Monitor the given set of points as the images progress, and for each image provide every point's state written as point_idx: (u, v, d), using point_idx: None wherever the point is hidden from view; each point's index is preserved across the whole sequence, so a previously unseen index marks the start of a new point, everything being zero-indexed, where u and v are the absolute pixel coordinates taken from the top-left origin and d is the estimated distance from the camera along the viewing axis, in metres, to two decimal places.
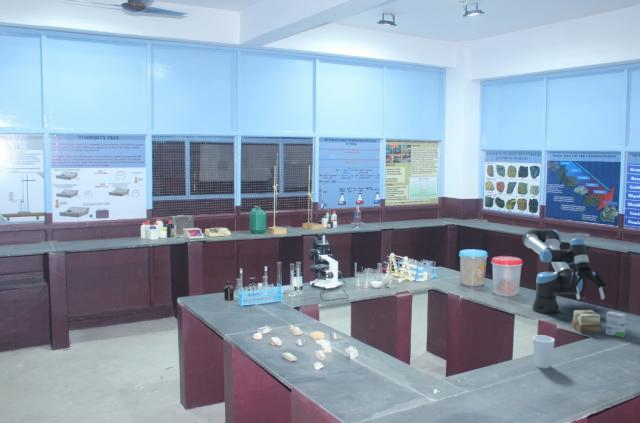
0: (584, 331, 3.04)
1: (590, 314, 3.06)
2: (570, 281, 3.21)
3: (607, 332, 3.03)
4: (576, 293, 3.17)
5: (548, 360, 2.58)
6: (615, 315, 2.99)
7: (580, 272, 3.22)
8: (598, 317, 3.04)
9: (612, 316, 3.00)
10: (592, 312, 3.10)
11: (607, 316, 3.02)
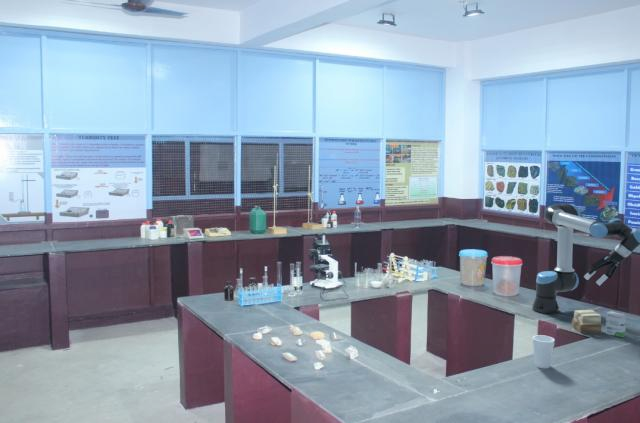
0: (584, 331, 3.04)
1: (591, 314, 3.05)
2: (596, 262, 3.04)
3: (607, 332, 3.03)
4: None
5: (548, 360, 2.58)
6: (615, 315, 2.99)
7: (611, 261, 3.04)
8: (599, 317, 3.04)
9: (612, 316, 3.00)
10: (593, 312, 3.10)
11: (607, 316, 3.02)
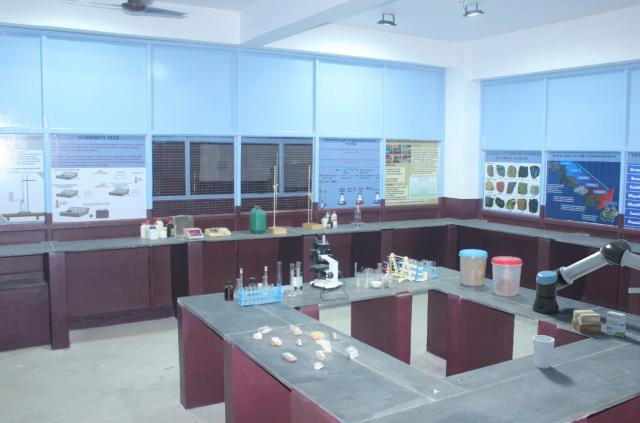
0: (584, 331, 3.04)
1: (590, 314, 3.06)
2: None
3: (607, 332, 3.03)
4: None
5: (548, 360, 2.58)
6: (615, 315, 2.99)
7: None
8: (598, 317, 3.04)
9: (612, 316, 3.00)
10: (592, 312, 3.10)
11: (607, 316, 3.02)
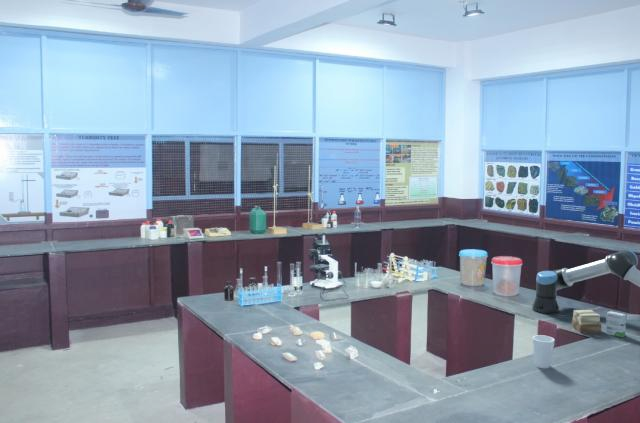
0: (584, 331, 3.04)
1: (590, 314, 3.05)
2: None
3: (607, 332, 3.03)
4: None
5: (548, 360, 2.58)
6: (615, 315, 2.99)
7: None
8: (598, 317, 3.04)
9: (612, 316, 3.00)
10: (592, 312, 3.10)
11: (607, 316, 3.02)
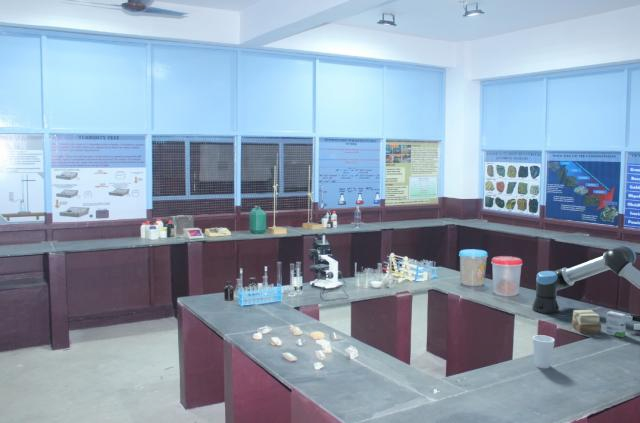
0: (584, 331, 3.04)
1: (590, 314, 3.05)
2: None
3: (607, 332, 3.03)
4: None
5: (548, 360, 2.58)
6: (615, 315, 2.99)
7: None
8: (597, 317, 3.04)
9: (612, 316, 3.00)
10: (592, 312, 3.10)
11: (607, 316, 3.02)
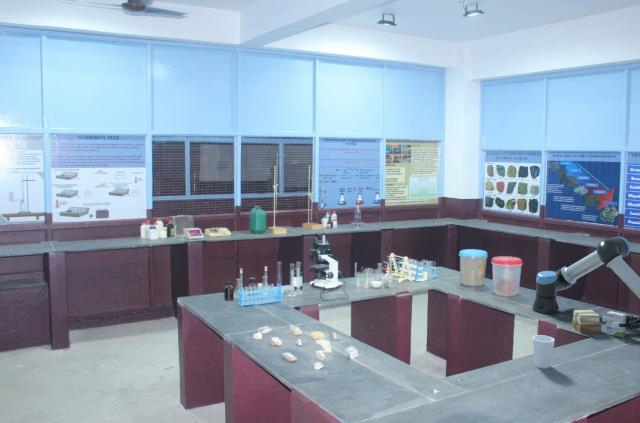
0: (584, 331, 3.04)
1: (590, 314, 3.05)
2: (636, 324, 2.94)
3: (607, 332, 3.03)
4: (619, 324, 2.96)
5: (548, 360, 2.58)
6: (615, 315, 2.99)
7: None
8: (597, 317, 3.04)
9: (612, 316, 3.00)
10: (592, 312, 3.09)
11: (607, 316, 3.02)
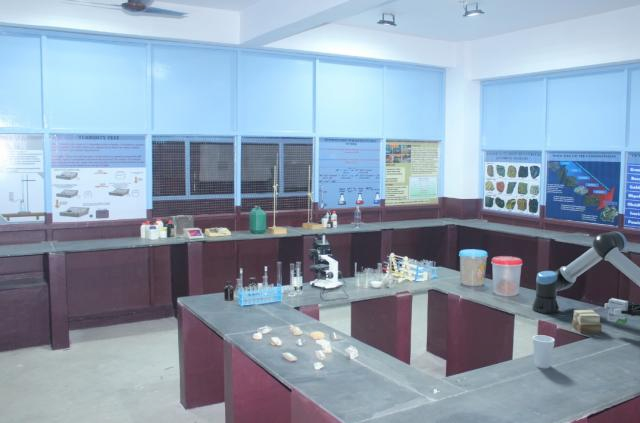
0: (584, 331, 3.04)
1: (590, 314, 3.05)
2: (638, 311, 2.92)
3: (609, 319, 3.01)
4: (621, 311, 2.94)
5: (548, 360, 2.58)
6: (617, 302, 2.97)
7: None
8: (598, 317, 3.03)
9: (614, 303, 2.98)
10: (593, 312, 3.09)
11: (609, 303, 3.00)
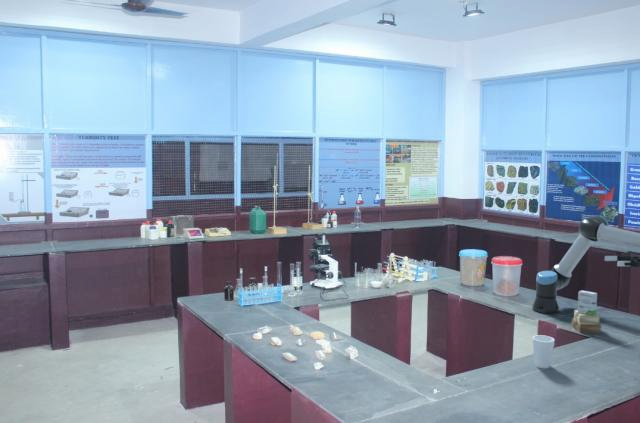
0: (584, 331, 3.05)
1: None
2: None
3: (579, 311, 3.09)
4: (624, 263, 3.00)
5: (548, 360, 2.58)
6: (586, 294, 3.05)
7: None
8: (597, 317, 3.04)
9: (584, 295, 3.07)
10: None
11: (579, 295, 3.08)
